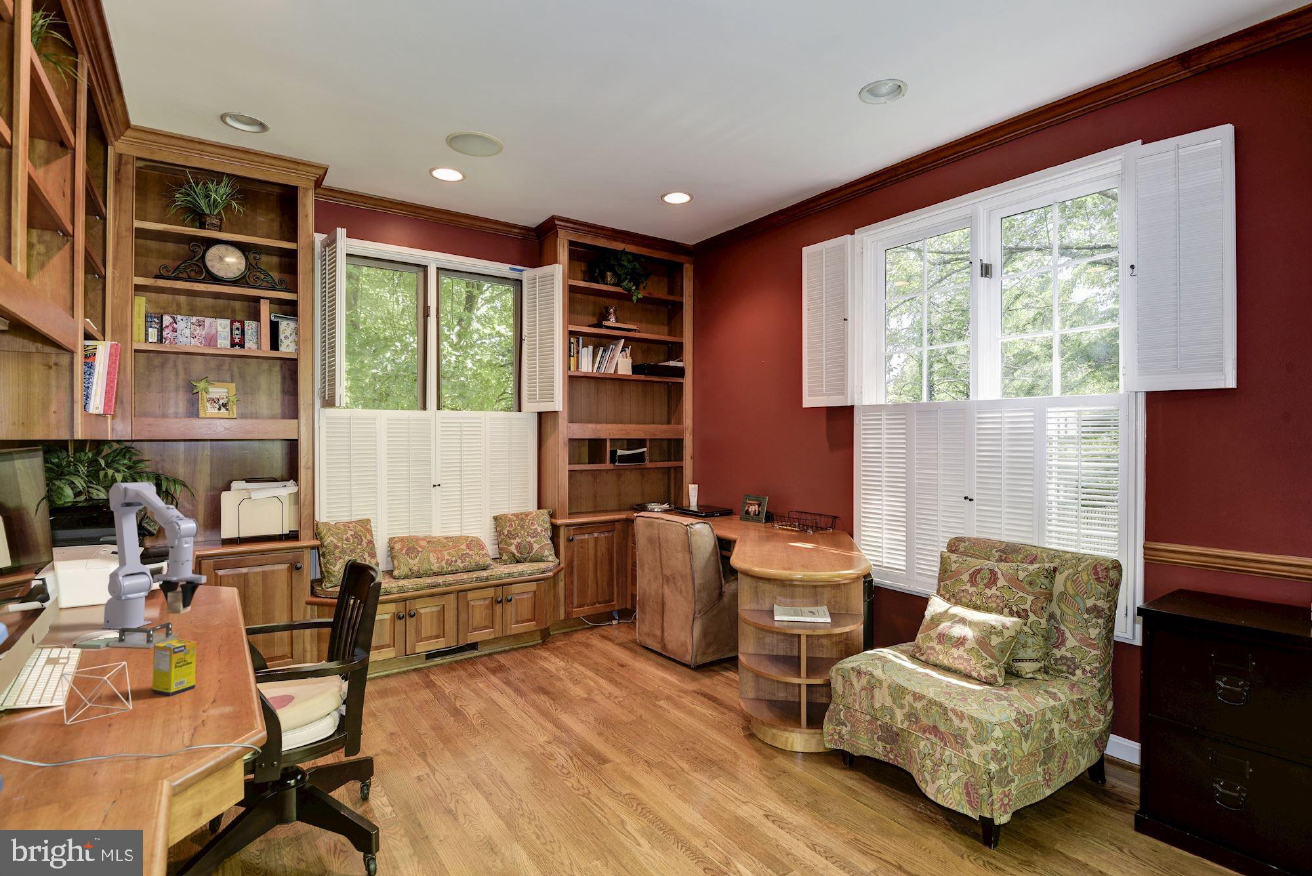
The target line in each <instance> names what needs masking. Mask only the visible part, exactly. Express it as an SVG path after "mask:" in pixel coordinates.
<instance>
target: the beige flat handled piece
mask: <svg viewBox="0 0 1312 876" xmlns="http://www.w3.org/2000/svg"><path fill="white" fill-rule="evenodd" d="M163 629H165V633H161V632H159V633H158V632H157V631H160V630H163ZM172 629H173V624H172V623H171V622H169V621H168V622H165V623H162V624H159V625H156V626H153V627H151V628H150V627H149V628H148V627H145V628H144V627H137V628H125V627H122V628H121V629H118V630H119V639H117V640H114V641H111V642H109V646H108V647H109V648H110V647H111V648H113V647H114V648H133V649H134V648H137V649H139V648H140V649H152V648H153V649H154V645H156V644H160V643H164V642H168V641H172V640H176V639H179V634H178V633H173V632H172V631H173V630H172ZM125 632H137V633H135V634H132V635H129V636H126V637H125Z"/></svg>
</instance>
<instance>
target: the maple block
mask: <svg viewBox="0 0 1312 876" xmlns="http://www.w3.org/2000/svg"><path fill="white" fill-rule="evenodd" d="M182 601H183V596H182V590H181V589H177V590H176V591H172V592H169V593H168V602H166V604H167V605H166V606H167V608H166V609H167V610H166V614H173V615H175V614H176V615H177V614H179V615H181V614H184V613H187V612H190V611H191V607H192V606H191V605H190V606H189V607H186V608H183V604H182Z"/></svg>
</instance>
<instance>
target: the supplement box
mask: <svg viewBox="0 0 1312 876" xmlns="http://www.w3.org/2000/svg"><path fill="white" fill-rule="evenodd" d="M197 642H198V641H197V640H196V641H194V640H188V639H184V638H183V639H182V638H177V639H174V640H171V641H168V642H164V643H160V644H156V645H154V647H153V664H152V666H153V667H152V690H151V691H152V692H151V693H154V694H159V695H165V696H170V697H171V696H174V695H177V694H180V693H183V692H186V691H189V689H190V690H192V689H195V687H196V673H197V672H196V669H197V668H196V665H197V664H196V663H197Z"/></svg>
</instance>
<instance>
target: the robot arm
mask: <svg viewBox="0 0 1312 876" xmlns="http://www.w3.org/2000/svg"><path fill="white" fill-rule="evenodd" d="M108 498H109V506H110V510H111V511H112V512H113V516H114V526H115V537H116V547H117V556H118V557H117V558H118V567H117V568H115V569H114V570H113V571H112V572H110V574H109V575H108V576H109V577H108V579H109V580H108V584H107V591H108V594H109V595H110V598H109V599H107V601H106V603H105V604H104V611H103V613H104V614H103V615H104V616H103V626H101V629H109V628H110V629H111V630H113V629H115V630H116V629H117V630H120V629H121V628H122V627H125V628H141V627H143V626H145V625H149V624H151V623H152V621H149V620H145V610H146V609H145V605H146V596H148V594H149V593H150V592H151V590H152V588H153V587H154V583H159V582H162V583H159V584H158V588H159V589H160V590H161V592H162V593H163V596H164V599H165V601H166V603H167V602H168V593H169V592H172V591H176V590H178V589H179V587H180V590H182V596H183V601H182V604H183V608H186V607H189V606H190V605H191V604H192V601H193V598H194V595H195V594H196V591H197V590H198V588H200V585H201V584H204V583H207V575H203V574H201V575H200V574H195V573H194V574H193V558H194V557H193V556H194V538H196V537H197V536H198V534H199V530H200V529H199V523H198V522H197V521H196V519H195V518H189V517H185V516H184V515H183V514H182V513H181V512H180V511H179V510H178V509H177V508H176V507H175V506H174V505H172V504H171V505H170V504H165V503H164V501H163V500H162V499H161V498H160V497H159V496H158V494H157V487H156V485H154V483H152V482H150V481H144V482H143V481H141V482H140V481H139V482H138V481H137V482H115V483H114V484H112V486H111V488H110V490H109V491H108ZM145 507H146V508H147V509H148V510H149V511H150V512H152V513H153V519H154V520H155V521H156V522H157V523H158V524H159V525H160V526H161V527H162V528H163V529H164V534H165V537H166V539H167V543H166V544H167V546H168V547H169V551H168V553H169V554H168V573H158V574H154V575H153V577H152V575H151V571H150V568H149V567H148V566H145V565H144V564H142V563H141V555H140V546H139V536H138V526H137V525H138V524H137V517H136V516H137V513H138V511H139V510H142V509H143V508H145ZM180 583H181V584H180Z"/></svg>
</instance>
